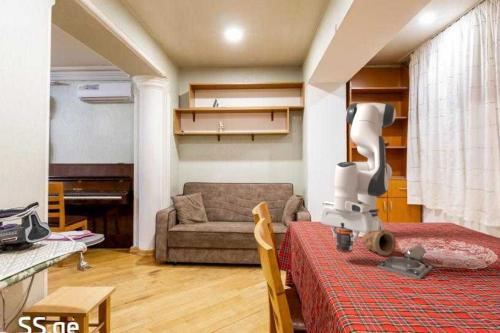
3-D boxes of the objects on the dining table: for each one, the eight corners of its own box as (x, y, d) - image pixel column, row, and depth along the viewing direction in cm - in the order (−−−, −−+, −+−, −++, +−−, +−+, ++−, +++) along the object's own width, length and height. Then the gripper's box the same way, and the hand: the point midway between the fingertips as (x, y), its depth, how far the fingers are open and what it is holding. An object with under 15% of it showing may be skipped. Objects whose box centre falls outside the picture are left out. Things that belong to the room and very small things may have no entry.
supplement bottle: (355, 253, 110) (356, 223, 110) (341, 253, 109) (342, 224, 108) (347, 248, 116) (348, 219, 115) (333, 248, 115) (334, 220, 114)
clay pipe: (356, 260, 125) (390, 258, 114) (349, 235, 127) (382, 230, 116) (375, 250, 138) (407, 247, 127) (368, 228, 140) (400, 223, 129)
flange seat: (400, 254, 122) (400, 242, 122) (439, 262, 112) (439, 249, 112) (377, 267, 106) (377, 254, 106) (420, 279, 96) (420, 264, 96)
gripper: (317, 201, 117) (317, 235, 118) (367, 208, 102) (366, 247, 103) (326, 200, 121) (325, 232, 122) (375, 206, 107) (374, 243, 107)
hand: (344, 239), depth 112 cm, fingers closed on supplement bottle, 6 cm apart
